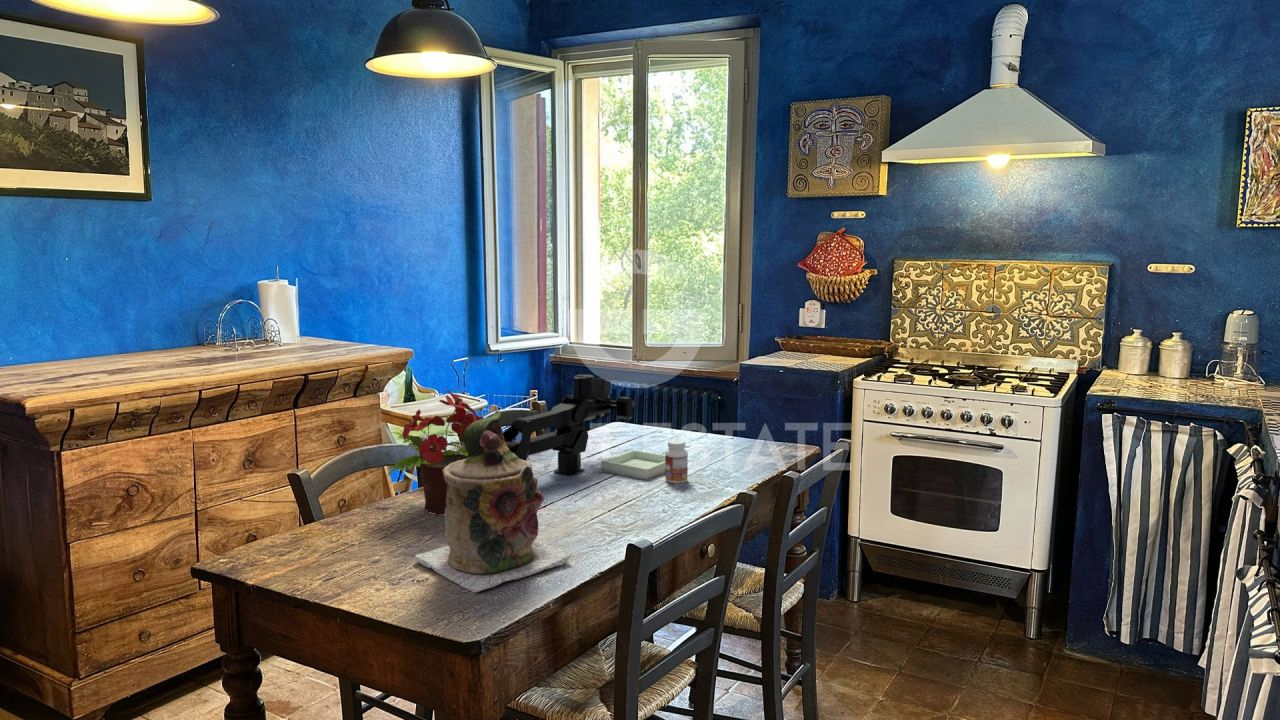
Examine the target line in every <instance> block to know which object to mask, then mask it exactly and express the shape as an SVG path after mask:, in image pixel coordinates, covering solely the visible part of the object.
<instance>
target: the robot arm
mask: <svg viewBox="0 0 1280 720" xmlns="http://www.w3.org/2000/svg"><path fill="white" fill-rule="evenodd" d="M611 387H612V382H611V381H610V380H607V379H605V378H598V377H594V375H592V374H576V375H575V376H574V377H573V378H572V392H573V394H572V395H568V394H567V395H565V396H564V397H563V399H561V401H560V402H559V403H558V404H556V405H554V406H553V407H552V408H551V410H549V411H545V412H541V413H538V414H534V415H529V416H523V417H518V418H515V419H514V420H513V422H512V423H511V425H510V426H509V427H508V428H507V429H505V430H504V431H503V436H504V441H505V444H506V445H507V447H508V449H509V450H510V451H511V452H512V453H514V454H516V456H517V457H518V458H519V459H522V460H524V461H527V460H528V459H529V457H530V456H532V455H536V454H538V453H542V452H546V451H550V450H552V451H554V452H555V451H557V469H555V470H553V473H556V474H561V475H566V476H573V475H576V474H580V473H583V472H585V469H584V468H582V463H581V462H582V460H581V457H582V455H581V454H582V453H585V452H586V449H587V445H588V440H589V432H588V430H587V428H586V426H585V424H586V422H585V421H589V420H593V419H594V420H595V419H596V420H601V419H602V417H606V418H608V417H610V413H611V412H612V410H616V412H615V413H616V417H617V418H618V419H621V420H631V419H632V418H633V416H634V415H633V413H634V412H633V411H634V409H633V408H634V407H635V404H636V401H634V400H633V398H632V397H629V396H628V397H626V396H620V397H619V396H618V398H617V399H616V400H612V399H611V398H612V397H611V396H609V394H610V391H611ZM553 427H556V429H555V430H554V431H552V432H547V433H545V434H541V435H538V436H534V437H532V434H533V433H535V432H539V431H542V430H546V429H550V428H553ZM519 434H521V439H520V440H515V439H514V438H516V437H517V436H519Z"/></svg>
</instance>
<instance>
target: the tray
mask: <svg viewBox="0 0 1280 720" xmlns="http://www.w3.org/2000/svg"><path fill="white" fill-rule="evenodd" d="M600 462H601V463H600V464H601V465H600V468H601V472H603V471H605V472H604V473H609V472H610V473H609V474H614V473H616V474H615V475H619V474H620V475H619V476H624V475H626V476H625V477H629V476H632V477H631V478H635V477H638V478H637V479H640V478H642V479H641V480H645V479H646V481H648V480H650V478H651V479H654V478H655V477H656V478H657V476H660V474H661V475H663V474H665V454H661V453H656V452H649V451H643V450H639V449H638V450H637V449H631V450H628V451H626V452H623V453H620V454H617V455H614V456H611V457H609V458H606V459H603V460H601V461H600Z"/></svg>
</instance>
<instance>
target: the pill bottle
mask: <svg viewBox="0 0 1280 720" xmlns="http://www.w3.org/2000/svg"><path fill="white" fill-rule="evenodd" d="M664 455H665V473H664V476H665V477H664V479H665V481H666V482H668V483H669V484H683V483H685V482H687V481H688V473H689V471H688V470H689V469H688V467H689V466H688V464H689V463H688V462H689V460H688V459H689V458H688V457H689V455H688V451H687V449H686V442H685V440H682V439H671V440H668V442H667V449H666V451H665V454H664Z"/></svg>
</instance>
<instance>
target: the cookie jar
mask: <svg viewBox="0 0 1280 720" xmlns="http://www.w3.org/2000/svg"><path fill="white" fill-rule="evenodd" d="M501 417H502V413H501V411H500V410H499V409H497V410H496V411H494V414H493V415H492V416H489V417H486V418H484V419H481V420H478V421H475V422H473V423H472V424H470V425H469V426H468V427H467V429H466V430H465V433H464V435H463V443H464V444H463V447H465V448H466V451H467V453H468V456H467V458H466V459H463V460H458V461H456V462H453V463H451V464H449V465H448V466H446V467H445V468H444V469H443V476H444V480H445V481H446V482H447V484H448V486H447V497H446V508H445V515H444V528H445V531H444V538H445V542H446V544H447V545H446V546H442V547H438V548H434V549H433V550H428V551H426V552H423V553H418V554H415V555H414V556H415V559H416V560H417V562H418V563H419V564H420V565H422V566H423V567H426V568H429V569H431V570H433V571H434V572H435V573H437V574H439V575H440V576H442V577H444V578H446V579H447V580H450V581H451V582H453V583H455V584H458V585H459V587H462V588H463V589H465V590H467V591H469V592H472V593H475V594H477V593H479V592H481V591H484V590H487V589H492V588H494V587H496V586H498V585H500V584H503V583H505V582H507V581H509V582H510V581H515V580H519V579H522V578H525V577H528V576H531V575H534V574H537V573H541V572H543V571H546V570H549V569H553V568H555V567H558V566H564V565H566V564H567V563H568V562H569V560H570V558H571V557H572V555H573V553H572V552H570V551H567V550H563V549H558V548H553V547H550V546H547V545H545V544H544V543H541V542H539V541H537V540H536V539H537V538H538V535H539V519H538V512H539V510H540V508H541V506H542V504H543V502H544V501H545V500H544V499H545V496H544V495H543V493H542V491H540V490H538V483H539V482H538V478H537V477H536V476H534V472H533V465H532V463H530V462H529V461H527V460H526V461H524V460H522V459H519V458H518V457H517V456H516V454H514V453H512V452H511V451H510V450H509V449H508V447H507V445H506V444H505V441H504V436H503V432H504V431H503V427H502V423H501V420H500V419H501Z"/></svg>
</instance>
